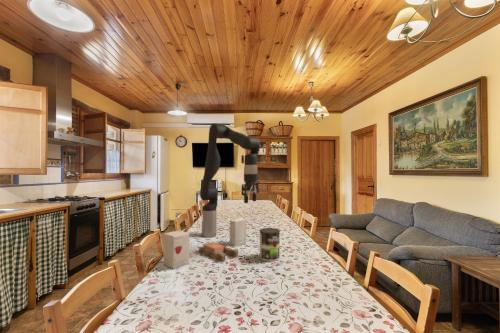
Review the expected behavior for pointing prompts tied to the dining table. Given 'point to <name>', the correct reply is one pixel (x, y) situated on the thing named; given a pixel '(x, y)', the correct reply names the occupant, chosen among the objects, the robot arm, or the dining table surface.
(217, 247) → the terracotta block
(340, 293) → the dining table surface
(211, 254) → the walnut chute
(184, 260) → the supplement box
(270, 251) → the coffee can
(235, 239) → the skincare box
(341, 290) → the dining table surface
